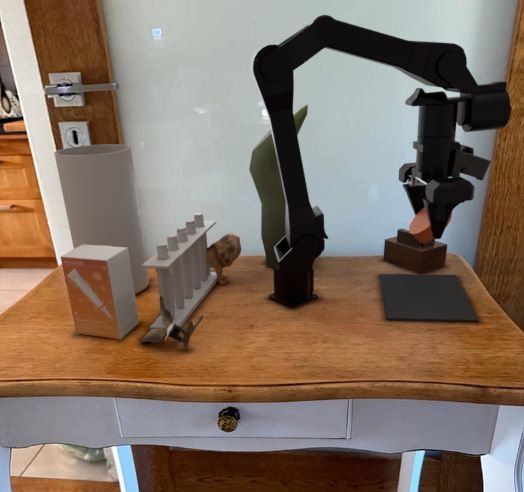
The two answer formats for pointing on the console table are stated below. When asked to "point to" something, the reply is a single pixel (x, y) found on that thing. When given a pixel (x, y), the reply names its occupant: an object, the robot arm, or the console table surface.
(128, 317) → the small box
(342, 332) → the console table surface
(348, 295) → the console table surface
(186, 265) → the test tube rack
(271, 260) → the tentacle
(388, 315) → the mat
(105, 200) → the cylinder vase
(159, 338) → the eagle figurine
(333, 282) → the console table surface
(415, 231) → the disc
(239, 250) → the lion figurine
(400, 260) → the brown notched block
